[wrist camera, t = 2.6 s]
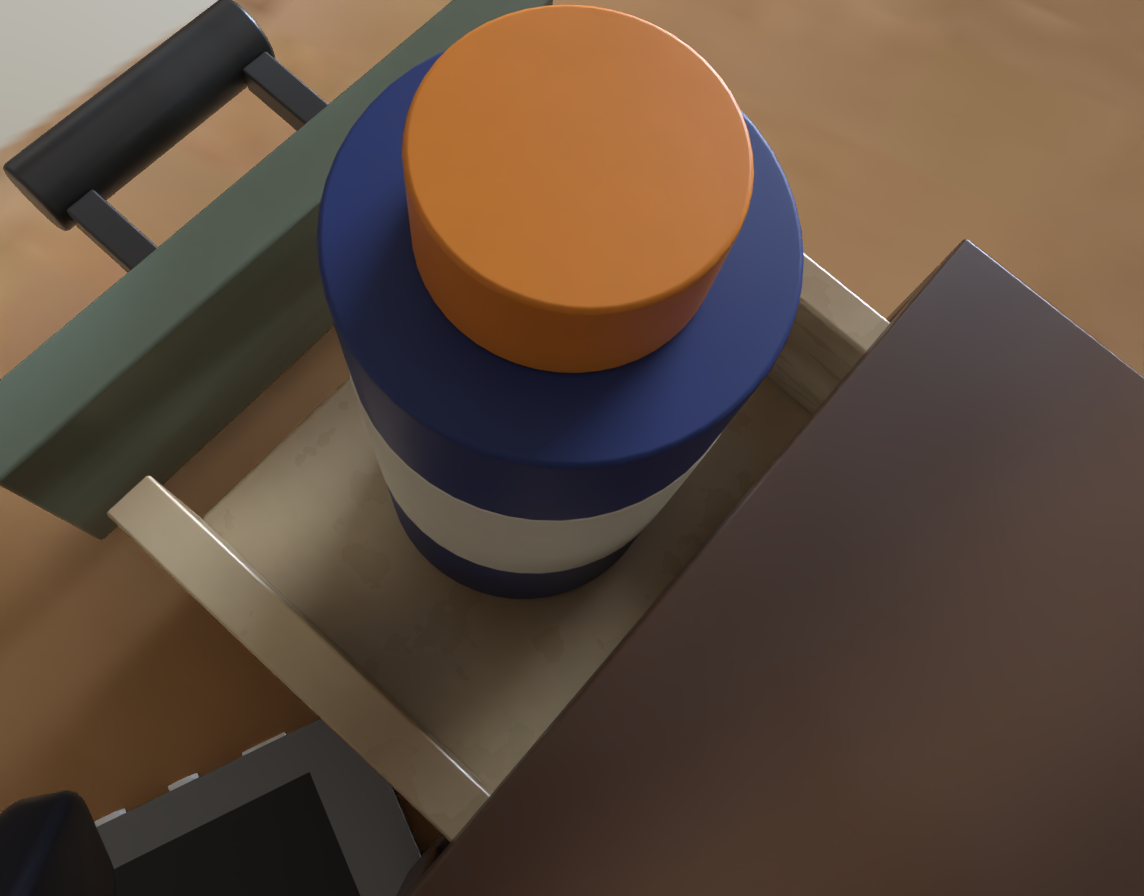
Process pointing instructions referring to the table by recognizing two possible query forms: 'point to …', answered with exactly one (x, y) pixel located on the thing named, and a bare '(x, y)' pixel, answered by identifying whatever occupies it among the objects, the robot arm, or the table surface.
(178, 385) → the drawer
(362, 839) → the smartphone
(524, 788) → the cabinet
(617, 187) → the glue bottle
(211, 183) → the table surface
